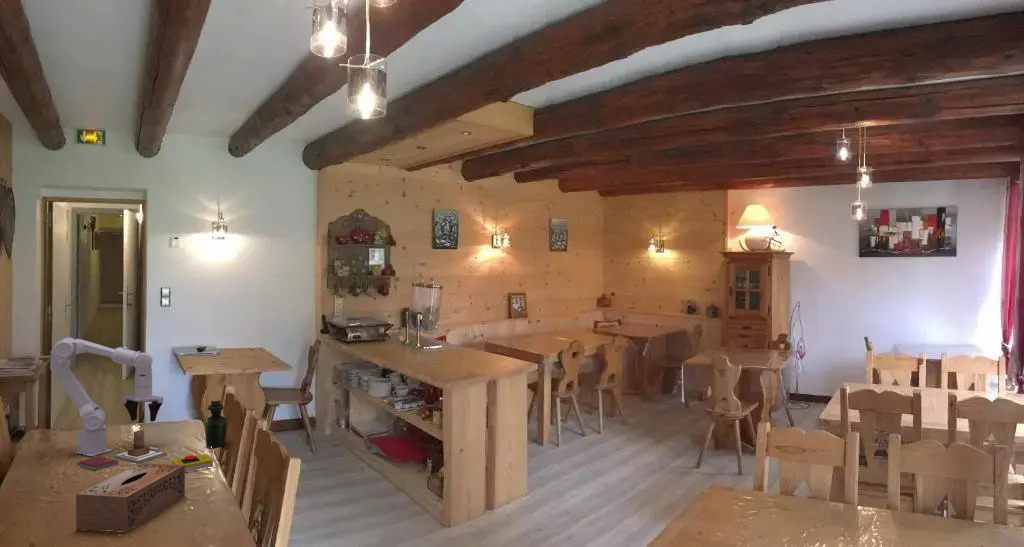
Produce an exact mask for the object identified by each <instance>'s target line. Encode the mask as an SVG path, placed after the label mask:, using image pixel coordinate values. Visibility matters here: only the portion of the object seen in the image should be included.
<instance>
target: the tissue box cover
mask: <svg viewBox="0 0 1024 547" xmlns="http://www.w3.org/2000/svg"><path fill="white" fill-rule="evenodd" d="M184 495H185V496H186V473H185V465H176V464H172V463H154V462H142V463H136V464H135V465H133V466H132V467H129V468H127V469H125V470H123V471H121V472H119V473H117V474H115V475H113V476H111V477H109V478H107V479H105V480H103V481H101V482H99V483H97V484H94V485H93V486H92V485H91V486H90V487H89V488H86V489H84V490H81V491H80V492H78V493H76V494H75V509H76V510H75V513H76V514H75V515H76V516H75V521H76V522H75V530H76V529H86V530H85V531H88V530H113V531H123V532H124V531H125V532H127V531H128V530H130V529H132V528H133V527H135V526H137V525H138V524H140V523H141V524H143V523H144V522H146V521H148V520H149V519H151V518H152V517H153V516H152V515H154V514H156V513H157V512H159V511H160V510H162V509H163V508H165V507H167V506H168V507H170V506H171V505H173V504H174V503H173V502H175V501H176V502H178V501H179V500H181V499H182V498H181V497H183V496H184ZM185 496H184V497H185ZM184 497H183V498H184ZM180 498H181V499H180ZM178 499H179V500H178ZM177 500H178V501H177ZM176 502H175V503H176ZM172 503H173V504H172ZM170 504H171V505H170ZM169 505H170V506H169ZM168 507H167V508H168ZM165 509H166V508H165ZM162 511H163V510H162ZM160 512H161V511H160ZM160 512H159V513H160ZM157 514H158V513H157ZM157 514H156V515H157ZM151 516H152V517H151ZM154 516H155V515H154ZM150 517H151V518H150ZM148 518H149V519H148ZM147 519H148V520H147ZM145 520H146V521H145ZM143 521H144V522H143ZM142 522H143V523H142ZM141 524H140V525H141ZM138 526H139V525H138ZM138 526H137V527H138ZM135 528H136V527H135ZM133 529H134V528H133ZM133 529H132V530H133ZM130 531H131V530H130ZM127 533H128V532H127Z"/></svg>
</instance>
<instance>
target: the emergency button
mask: <svg viewBox="0 0 1024 547" xmlns="http://www.w3.org/2000/svg"><path fill="white" fill-rule="evenodd" d="M212 459H213V458H212V457H211V456H209V454H207V453H202V454H197V455H196V454H195V455H194V454H190V455H186V456H184V457H179V458H178V457H177V458H174V459H172V461H171V464H176V465H185V472H187V471H191V470H196V469H200V468H205V467H212V466H213V460H214V459H213V460H212ZM217 464H218V465H219V466H220V464H219V463H217Z"/></svg>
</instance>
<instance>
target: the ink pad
mask: <svg viewBox="0 0 1024 547" xmlns="http://www.w3.org/2000/svg"><path fill="white" fill-rule="evenodd" d="M75 464H76V467H77V466H80V467H79V468H81V467H83V468H82V469H85V468H87V469H86V470H89V469H91V471H93V470H96V471H99V470H102V468H103V469H105V468H108V467H112V466H115V465H119V459H115V458H109V457H104V456H100V455H97V456H93V457H92V458H91V457H90V458H87V459H84V460H80V461H78V462H76V463H75ZM98 469H99V470H98Z"/></svg>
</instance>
